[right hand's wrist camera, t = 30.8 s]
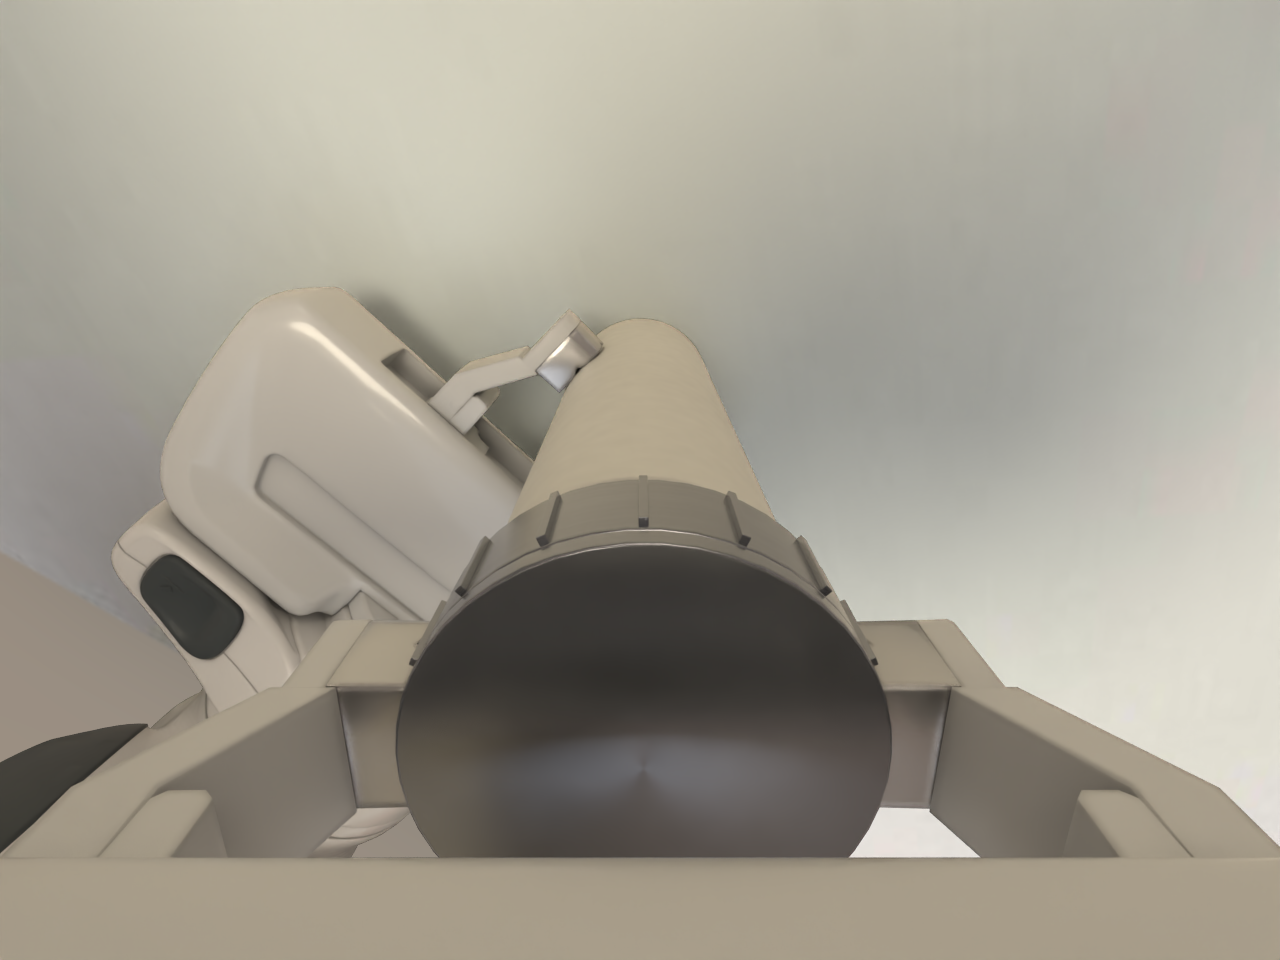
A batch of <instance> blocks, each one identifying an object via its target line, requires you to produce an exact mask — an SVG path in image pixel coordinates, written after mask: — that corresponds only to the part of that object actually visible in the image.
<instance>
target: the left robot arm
mask: <svg viewBox="0 0 1280 960" xmlns="http://www.w3.org/2000/svg"><path fill="white" fill-rule="evenodd" d="M602 345H603V342H602V341H601V340H600V339H599V338H598V337H597V336H596V335H595V334H594V333H593V332H592V331H591V330H590V329H589V328H588V327H587V326H586V325H585V324H584V323H583V322H582V321H581V319H580V318H579V317H578V316H576V315H575V314H574V313H573V312H572V311H571V310H570V309H568V310H567V311H566V312H565V313H564V314H563V315H562V316H561V317H560V318H559V319H558V321H557V322H556V323H555V324H554V325H553V326H552V327H551V328H550V329H549V330H548V331H547V332H546V333H545V334H544V335H543V336H542V337H541V338H540V340H539V341H538V342H537V343H536V344H535V345H534V346H533V347H532V348H530V347H529V346H525V347H522V348H518V349H514V350H510V351H507V352H503V353H499V354H496V355H492V356H488V357H484V358H481V359H477V360H473V361H470V362H469V363H467V364H466V365H465V366H464V367H463V368H461V369H460V370H459V371H458V372H457V373H455V374H454V375H453V376H452V377H451V378H450V380H449V381H448V382H446V381H445V380H444V379H443V378H442V377H440V376H439V375H438V374H437V373H436V372H435V371H434V370H433V369H432V368H431V367H429V366H428V365H427V364H426V363H425V362H424V361H423V360H422V359H421V358H419V357H418V356H417V355H416V354H415V353H414V352H413V351H412V350H411V349H410V348H408V347H407V346H406V345H405V344H404V343H403V342H402V341H401V340H400V339H398V338H397V337H396V336H395V335H394V334H393V333H392V332H391V331H390V330H389V329H387V328H386V327H385V326H384V325H383V324H382V323H381V322H380V321H379V320H377V319H376V318H375V317H374V316H373V315H372V314H371V313H370V312H369V311H368V310H366V309H365V308H364V307H363V306H362V305H361V304H360V303H359V302H358V301H357V300H356V299H354V298H353V297H352V296H351V295H350V294H348V293H347V292H346V291H344V290H342V289H340V288H337V287H310V288H300V289H292V290H287V291H283V292H280V293H276V294H274V295H271V296H269V297H266V298H264V299H263V300H261V301H260V302H258V303H257V304H255V305H254V306H253V307H252V308H251V309H250V310H249V311H248V312H247V313H246V314H245V315H244V316H243V318H242V319H241V320H240V321H239V322H238V324H237V325H236V326H235V327H234V329H233V330H232V331H231V333H230V334H229V335H228V337H227V338H226V339H225V341H224V342H223V344H222V345H221V347H220V348H219V349H218V351H217V352H216V354H215V355H214V357H213V358H212V359H211V361H210V363H209V364H208V366H207V367H206V369H205V370H204V372H203V373H202V375H201V377H200V378H199V380H198V382H197V383H196V385H195V387H194V388H193V390H192V392H191V393H190V395H189V396H188V398H187V400H186V402H185V404H184V406H183V407H182V409H181V411H180V413H179V415H178V417H177V419H176V420H175V422H174V424H173V426H172V428H171V430H170V432H169V434H168V437H167V439H166V442H165V445H164V448H163V452H162V456H161V462H160V480H161V486H162V490H163V494H164V496H165V499H164V500H163V501H161V502H160V503H159V504H157V505H156V506H155V507H153V508H152V509H151V510H150V511H148V512H147V513H146V514H145V515H144V516H143V517H142V518H140V519H139V520H138V521H137V522H136V523H135V524H134V525H132V526H131V527H130V528H129V529H128V530H127V531H126V532H125V533H124V534H123V535H122V536H121V537H120V538H119V540H118V541H117V542H116V544H115V546H114V547H113V550H112V553H111V561H112V565H113V568H114V570H115V572H116V574H117V575H118V577H119V578H120V580H121V581H122V582H123V584H124V585H125V586H126V587H127V589H128V590H129V591H130V592H131V593H132V595H133V596H134V597H135V598H136V599H137V600H138V602H139V603H140V604H141V605H142V606H143V607H144V609H145V610H146V611H147V612H148V613H149V615H150V616H151V617H152V618H153V620H154V621H155V622H156V623H157V624H158V626H159V627H160V628H161V629H162V631H163V632H164V633H165V634H166V636H167V637H168V638H169V640H170V641H171V642H172V643H173V645H174V646H175V647H176V649H177V650H178V651H179V653H180V654H181V656H182V657H183V658H184V660H185V661H186V662H187V664H188V665H189V667H190V668H191V670H192V671H193V673H194V674H195V676H196V677H197V679H198V680H199V682H200V684H201V685H202V687H203V688H202V690H201V692H200V693H198V694H196V695H194V696H192V697H190V698H188V699H186V700H184V701H183V702H181V703H180V704H178V705H177V706H175V707H174V708H173V709H172V710H170V711H169V712H168V713H167V714H166V715H165V716H163V717H162V718H161V719H160V720H159V721H158V722H157V723H156V724H155V725H154V726H153V727H152V728H151V729H150V728H149V727H148V724H127V725H118V726H113V727H107V728H102V729H97V730H93V731H88V732H83V733H78V734H74V735H69V736H65V737H60V738H56V739H52V740H49V741H46V742H43V743H41V744H38V745H36V746H34V747H31V748H29V749H27V750H25V751H22V752H20V753H18V754H16V755H14V756H12V757H10V758H8V759H6V760H4V761H2V762H0V857H1V856H2V855H3V854H4V853H5V852H6V851H7V850H8V849H9V848H10V847H11V846H12V845H13V844H14V843H15V842H16V841H17V840H18V839H19V838H20V837H21V836H22V835H23V834H24V833H25V832H26V831H27V830H28V829H29V828H30V827H31V826H32V825H33V824H34V823H35V822H36V821H37V820H38V819H39V818H40V817H41V816H42V815H43V814H44V813H45V812H46V811H47V810H48V809H49V808H50V807H51V806H52V805H53V804H54V803H55V802H56V801H57V800H58V799H59V798H60V797H61V796H62V795H63V794H64V793H65V792H66V791H67V790H68V789H69V788H70V787H72V786H74V785H76V784H78V783H80V782H82V781H84V780H86V779H88V778H90V777H92V776H94V775H96V774H98V773H100V772H102V771H104V770H106V769H108V768H110V767H112V766H114V765H116V764H118V763H120V762H122V761H124V760H126V759H128V758H130V757H132V756H134V755H136V754H138V753H140V752H142V751H144V750H146V749H148V748H150V747H152V746H154V745H156V744H158V743H160V742H162V741H164V740H166V739H168V738H170V737H172V736H174V735H176V734H178V733H180V732H182V731H184V730H186V729H188V728H190V727H192V726H194V725H196V724H198V723H200V722H202V721H204V720H206V719H208V718H210V717H212V716H214V715H216V714H218V713H220V712H222V711H224V710H226V709H228V708H230V707H232V706H234V705H236V704H238V703H239V702H241V701H243V700H245V699H247V698H249V697H251V696H253V695H255V694H257V693H259V692H261V691H263V690H265V689H267V688H269V687H282V686H283V685H284V683H285V682H286V681H287V679H288V678H289V677H290V676H291V674H292V673H293V672H294V670H295V669H296V668H297V667H298V665H299V664H300V663H301V661H302V660H303V659H304V658H305V656H306V655H307V654H308V652H309V651H310V650H311V649H312V647H313V646H314V645H315V643H316V642H317V641H318V640H319V638H320V637H321V636H322V634H323V633H324V632H325V631H326V629H327V628H328V627H329V625H330V624H331V623H332V622H333V621H337V620H358V619H371V620H373V621H374V620H409V621H431V619H432V617H433V615H434V613H435V611H436V609H437V608H438V606H439V604H440V602H441V600H443V601H446V602H447V600H448V598H449V596H450V594H451V592H452V590H453V589H454V587H455V585H456V583H457V581H458V579H459V578H460V576H461V574H462V572H463V570H464V569H465V567H466V566H467V565H468V564H469V562H470V560H471V558H472V556H473V554H474V552H475V550H476V548H477V546H478V544H479V542H480V540H481V539H482V538H483V537H484V536H486V537H488V538H489V539H490V538H491V537H492V536H493V535H494V534H495V533H496V532H497V531H499V530H500V529H501V528H503V527H504V526H505V525H507V523H508V521H509V518H510V516H511V514H512V512H513V509H514V507H515V505H516V502H517V500H518V498H519V496H520V493H521V491H522V489H523V486H524V484H525V482H526V479H527V477H528V475H529V473H530V470H531V468H532V466H533V463H534V461H533V460H532V459H531V458H530V457H529V456H528V455H527V454H526V453H524V452H523V451H522V450H521V449H520V448H519V447H518V446H517V445H516V444H515V443H513V442H512V441H511V440H510V439H509V438H508V437H507V436H506V435H505V434H503V433H502V432H501V431H500V430H499V429H498V428H497V427H496V426H495V425H494V424H492V423H491V422H490V421H489V420H488V419H487V418H486V417H485V416H484V415H483V414H484V413H485V412H486V411H487V410H488V409H489V407H490V406H491V405H492V404H493V402H494V401H495V400H496V399H497V397H498V396H499V395H500V389H499V388H497V387H498V386H501V385H505V384H508V383H512V382H515V381H519V380H522V379H526V378H529V377H533V376H536V375H538V374H539V375H540V376H541V377H543V378H544V379H545V380H546V381H547V382H548V383H549V384H550V385H551V386H553V387H554V388H555V389H556V390H557V391H558V392H559V393H560V392H561V391H562V390H563V389H564V388H565V387H566V386H567V385H568V384H569V383H570V382H571V381H572V380H573V378H574V377H575V375H576V373H577V370H578V368H580V367H585V366H586V365H587V364H588V363H589V362H590V361H591V360H592V359H593V358H594V357H595V356H596V355H597V354H598V353H599V351H600V350H601V349H602ZM409 813H410V811H409V809H408V807H397V808H362V809H357V813H356V814H354V815H353V816H352V817H351V818H350V819H349V820H348V821H347V822H346V823H344V824H343V825H342V826H341V827H340V828H339V829H338V830H337V831H335V832H334V833H333V834H332V835H331V836H330V837H329V838H328V839H327V840H325V841H324V842H323V843H322V844H321V845H320V846H319V847H318V848H316V849H315V850H314V851H313V852H312V853H311V854H310V855H309V856H308V857H306V858H351V856H352V855H353V853H354V851H355V849H356V848H357V846H358V845H359V844H362V843H364V842H366V841H369V840H371V839H373V838H376V837H378V836H380V835H381V834H383V833H385V832H386V831H387V830H389V829H390V828H392V827H394V826H395V825H396V824H398V823H399V822H400V821H401V820H402V819H403V818H404V817H406V816H407V815H408V814H409Z"/></svg>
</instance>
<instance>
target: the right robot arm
mask: <svg viewBox="0 0 1280 960" xmlns="http://www.w3.org/2000/svg"><path fill="white" fill-rule="evenodd" d="M429 623H430V621H409V620H374V621H373V620H371V619H358V620H337V621H333V622H332V623H331V624H330V625H329V627H328V628H327V629H326V631H325V632H324V633H323V634H322V636H321V637H320V638H319V640H318V641H317V642H316V643H315V645H314V646H313V647H312V649H311V650H310V651H309V652H308V654H307V655H306V656H305V658H304V659H303V660H302V661H301V663H300V664H299V665H298V667H297V668H296V669H295V670H294V672H293V673H292V674H291V676H290V677H289V678H288V679H287V681H286V682H285V683H284V685H283V686H282V687H269V688H267V689H265V690H263V691H261V692H259V693H257V694H255V695H253V696H251V697H249V698H247V699H245V700H243V701H241V702H239V703H238V704H236V705H234V706H232V707H230V708H228V709H226V710H224V711H222V712H220V713H218V714H216V715H214V716H212V717H210V718H208V719H206V720H204V721H202V722H200V723H198V724H196V725H194V726H192V727H190V728H188V729H186V730H184V731H182V732H180V733H178V734H176V735H174V736H172V737H170V738H168V739H166V740H164V741H162V742H160V743H158V744H156V745H154V746H152V747H150V748H148V749H146V750H144V751H142V752H140V753H138V754H136V755H134V756H132V757H130V758H128V759H126V760H124V761H122V762H120V763H118V764H116V765H114V766H112V767H110V768H108V769H106V770H104V771H102V772H100V773H98V774H96V775H94V776H92V777H90V778H88V779H86V780H84V781H82V782H80V783H78V784H76V785H74V786H72V787H70V788H69V789H68V790H67V791H66V792H65V793H64V794H63V795H62V796H61V797H60V798H59V799H58V800H57V801H56V802H55V803H54V804H53V805H52V806H51V807H50V808H49V809H48V810H47V811H46V812H45V813H44V814H43V815H42V816H41V817H40V818H39V819H38V820H37V821H36V822H35V823H34V824H33V825H32V826H31V827H30V828H29V829H28V830H27V831H26V832H25V833H24V834H23V835H22V836H21V837H20V838H19V839H18V840H17V841H16V842H15V843H14V844H13V845H12V846H11V847H10V848H9V849H8V850H7V851H6V852H5V853H4V854H3V855H2V856H1V857H0V960H1280V847H1279V846H1278V845H1277V844H1276V843H1275V842H1274V841H1273V840H1272V839H1271V838H1270V837H1269V836H1268V835H1267V834H1266V833H1265V832H1264V831H1263V830H1262V829H1261V828H1260V827H1259V826H1258V825H1257V824H1256V823H1255V822H1254V821H1253V820H1252V819H1251V818H1250V817H1249V816H1248V815H1247V814H1246V813H1245V812H1244V811H1243V810H1242V809H1241V808H1239V807H1238V806H1237V805H1236V804H1235V803H1234V802H1233V801H1232V800H1231V799H1230V798H1229V797H1228V796H1227V795H1226V794H1225V793H1224V792H1223V791H1222V790H1221V789H1220V788H1219V787H1217V786H1215V785H1213V784H1211V783H1209V782H1207V781H1205V780H1202V779H1200V778H1198V777H1196V776H1194V775H1192V774H1190V773H1188V772H1186V771H1184V770H1182V769H1180V768H1178V767H1176V766H1174V765H1172V764H1170V763H1168V762H1166V761H1164V760H1162V759H1160V758H1158V757H1156V756H1154V755H1152V754H1150V753H1148V752H1146V751H1144V750H1142V749H1140V748H1138V747H1136V746H1134V745H1132V744H1130V743H1128V742H1126V741H1124V740H1122V739H1120V738H1118V737H1116V736H1114V735H1112V734H1110V733H1108V732H1106V731H1104V730H1102V729H1100V728H1098V727H1096V726H1094V725H1092V724H1090V723H1088V722H1086V721H1084V720H1082V719H1080V718H1078V717H1076V716H1074V715H1072V714H1070V713H1068V712H1066V711H1064V710H1062V709H1060V708H1058V707H1056V706H1054V705H1052V704H1050V703H1048V702H1046V701H1044V700H1042V699H1040V698H1038V697H1036V696H1034V695H1032V694H1030V693H1028V692H1026V691H1024V690H1022V689H1020V688H1018V687H1005V686H1004V684H1003V683H1002V682H1001V681H1000V679H999V678H998V677H997V676H996V674H995V673H994V672H993V671H992V669H991V668H990V667H989V666H988V664H987V663H986V662H985V661H984V659H983V658H982V657H981V656H980V654H979V653H978V652H977V651H976V649H975V648H974V647H973V646H972V644H971V643H970V642H969V641H968V639H967V638H966V637H965V635H964V634H963V633H962V632H961V630H960V629H959V628H958V627H957V625H956V624H955V623H954V622H952V621H950V620H948V619H934V620H903V621H862V622H857V623H858V625H859V627H860V629H861V630H862V632H863V634H864V636H865V638H866V640H867V641H868V643H869V645H870V647H871V649H872V651H873V653H874V654H875V656H876V658H877V661H878V665H876V666H874V667H875V669H876V671H877V673H878V676H879V679H880V682H881V684H882V687H883V690H884V693H885V696H886V698H887V703H888V708H889V714H890V720H891V725H892V757H891V764H890V771H889V778H888V783H887V786H886V789H885V792H884V795H883V799H882V802H881V805H880V807H888V808H924V809H930V813H932V814H933V815H934V816H935V817H936V818H937V819H938V820H939V821H941V822H942V823H943V824H944V825H945V826H946V827H947V828H948V829H950V830H951V831H952V832H953V833H954V834H955V835H956V836H957V837H959V838H960V839H961V840H962V841H963V842H964V843H965V844H966V845H968V846H969V847H970V848H971V849H972V850H973V851H974V852H975V853H977V854H978V855H979V856H980V857H981V858H306V857H308V856H309V855H310V854H311V853H312V852H313V851H314V850H315V849H316V848H318V847H319V846H320V845H321V844H322V843H323V842H324V841H325V840H327V839H328V838H329V837H330V836H331V835H332V834H333V833H334V832H335V831H337V830H338V829H339V828H340V827H341V826H342V825H343V824H344V823H346V822H347V821H348V820H349V819H350V818H351V817H352V816H353V815H354V814H356V813H357V809H362V808H397V807H407V804H406V801H405V797H404V794H403V791H402V788H401V785H400V781H399V775H398V768H397V761H396V754H395V742H396V722H397V717H398V711H399V706H400V700H401V697H402V694H403V692H404V689H405V686H406V683H407V680H408V678H409V675H410V672H411V670H412V669H413V666H410V665H409V662H410V659H411V657H412V655H413V653H414V651H415V649H416V647H417V646H418V644H419V642H420V640H421V638H422V636H423V634H424V632H425V630H426V628H427V627H428V625H429Z"/></svg>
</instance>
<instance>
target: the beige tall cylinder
mask: <svg viewBox="0 0 1280 960" xmlns="http://www.w3.org/2000/svg"><path fill="white" fill-rule="evenodd" d="M596 336H597V337H598V338H599V339H600V340H601V341H602V342H603V345H602V349H601V350H600V351H599V353H598V354H597V355H596V356H595V357H594V358H593V359H592V360H591V361H590V362H589V363H588V364H587V365H586V366H585V367H580V368H578V370H577V373H576V375H575V377H574V378H573V380H572V381H571V382H570V383H569V384H568V385H567V388H566V390H565V392H564V395H563V397H562V399H561V401H560V404H559V406H558V408H557V411H556V413H555V415H554V417H553V420H552V422H551V424H550V427H549V429H548V431H547V434H546V436H545V438H544V440H543V443H542V445H541V447H540V450H539V452H538V454H537V457H536V459H535V461H534V463H533V466H532V468H531V470H530V473H529V475H528V477H527V479H526V482H525V484H524V486H523V489H522V491H521V493H520V496H519V498H518V500H517V502H516V505H515V507H514V509H513V512H512V514H511V516H510V518H509V521H508V523H509V522H511V521H512V520H513V519H515V518H516V517H517V516H519V515H520V514H522V513H524V512H526V511H527V510H529V509H531V508H533V507H535V506H536V505H538V504H540V503H542V502H544V501H546V500H548V499H549V497H550V494H551V493H553V492H555V491H558V492H559V494H560V495H561V494H564V493H566V492H569V491H571V490H575V489H579V488H583V487H587V486H591V485H595V484H599V483H607V482H615V481H623V480H639V475H647V476H648V480H664V481H672V482H680V483H688V484H692V485H696V486H700V487H704V488H707V489H711V490H715V491H718V492H721V493H723V494H727V492H728V491H731V492H734V493H736V495H737V498H738V500H741V501H743V502H745V503H747V504H748V505H750V506H752V507H754V508H756V509H758V510H759V511H761V512H763V513H765V514H767V515H768V516H769V517H771V518H772V519H773V520H775V518H774V516H773V514H772V512H771V509H770V507H769V505H768V503H767V501H766V498H765V496H764V494H763V492H762V490H761V487H760V485H759V483H758V481H757V479H756V477H755V474H754V472H753V470H752V468H751V466H750V463H749V461H748V459H747V457H746V455H745V452H744V450H743V448H742V446H741V444H740V441H739V439H738V437H737V435H736V433H735V430H734V428H733V426H732V424H731V422H730V419H729V417H728V415H727V413H726V411H725V408H724V406H723V404H722V402H721V400H720V397H719V395H718V393H717V391H716V389H715V386H714V384H713V382H712V380H711V378H710V375H709V373H708V371H707V369H706V367H705V364H704V362H703V360H702V358H701V356H700V354H699V352H698V350H697V349H696V347H695V346H694V345H693V343H692V342H691V341H690V340H689V339H688V338H687V337H686V336H685V335H684V334H683V333H681V332H680V331H679V330H677V329H676V328H674V327H672V326H670V325H668V324H666V323H663V322H660V321H656V320H652V319H630V320H625V321H621V322H618V323H615V324H613V325H611V326H609V327H607V328H605V329H604V330H602V331H601V332H600V333H598V334H597V335H596ZM775 521H776V520H775ZM508 523H507V524H508Z"/></svg>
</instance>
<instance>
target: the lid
mask: <svg viewBox="0 0 1280 960" xmlns="http://www.w3.org/2000/svg"><path fill="white" fill-rule="evenodd" d="M409 665H410V666H413V669H412V670H411V672H410V675H409V678H408V680H407V683H406V686H405V689H404V692H403V694H402V697H401V700H400V706H399V711H398V717H397V722H396V742H395V754H396V761H397V768H398V775H399V781H400V785H401V788H402V791H403V794H404V797H405V801H406V804H407V807H408V809H409V811H410V813H411V815H412V817H413V819H414V821H415V823H416V825H417V827H418V829H419V831H420V832H421V834H422V835H423V837H424V838H425V840H426V841H427V843H428V844H429V846H430V847H431V849H432V850H433V852H434V853H435V854H436V855H437V856H438V857H439V858H848V857H849V856H850V855H851V854H852V853H853V852H854V850H855V849H856V848H857V846H858V845H859V843H860V842H861V840H862V839H863V837H864V836H865V834H866V833H867V831H868V830H869V828H870V826H871V824H872V822H873V820H874V818H875V816H876V813H877V811H878V809H879V807H880V805H881V802H882V799H883V795H884V792H885V789H886V786H887V783H888V778H889V771H890V764H891V757H892V725H891V720H890V714H889V708H888V703H887V698H886V696H885V693H884V690H883V687H882V684H881V682H880V679H879V676H878V673H877V671H876V669H875V667H874V666H876V665H878V661H877V658H876V656H875V654H874V653H873V651H872V649H871V647H870V645H869V643H868V641H867V640H866V638H865V636H864V634H863V632H862V630H861V629H860V627H859V625H858V623H857V621H856V619H855V617H854V616H853V614H852V612H851V610H850V608H849V606H848V605H847V603H846V601H845V600H842V601H839V599H838V597H837V595H836V593H835V591H834V589H833V588H832V586H831V584H830V582H829V580H828V579H827V577H826V575H825V573H824V571H823V569H822V568H821V567H820V565H819V564H818V562H817V560H816V558H815V556H814V554H813V552H812V550H811V548H810V546H809V545H808V543H807V541H806V539H805V538H804V537H803V536H800V537H798V538H797V539H796V538H795V537H794V536H793V535H792V534H791V533H790V532H789V531H788V530H787V529H785V528H784V527H783V526H781V525H780V524H779V523H777V522H776V521H775V520H773V519H772V518H771V517H769V516H768V515H767V514H765V513H763V512H761V511H759V510H758V509H756V508H754V507H752V506H750V505H748V504H747V503H745V502H743V501H741V500H738V498H737V495H736V493H734V492H731V491H728V492H727V494H723V493H721V492H718V491H715V490H711V489H707V488H704V487H700V486H696V485H692V484H688V483H680V482H672V481H664V480H648V476H647V475H639V480H623V481H615V482H607V483H599V484H595V485H591V486H587V487H583V488H579V489H575V490H571V491H569V492H566V493H564V494H561V495H560V494H559V492H558V491H555V492H553V493H551V494H550V497H549V499H548V500H546V501H544V502H542V503H540V504H538V505H536V506H535V507H533V508H531V509H529V510H527V511H526V512H524V513H522V514H520V515H519V516H517V517H516V518H515V519H513V520H512V521H511V522H509V523H508V524H507V525H505V526H504V527H503V528H501V529H500V530H499V531H497V532H496V533H495V534H494V535H493V536H492V537H491V538H490V539H489V538H488V537H486V536H484V537H483V538H482V539H481V540H480V542H479V544H478V546H477V548H476V550H475V552H474V554H473V556H472V558H471V560H470V562H469V564H468V565H467V566H466V567H465V569H464V570H463V572H462V574H461V576H460V578H459V579H458V581H457V583H456V585H455V587H454V589H453V590H452V592H451V594H450V596H449V598H448V600H447V602H446V601H443V600H441V602H440V604H439V606H438V608H437V609H436V611H435V613H434V615H433V617H432V619H431V621H430V623H429V625H428V627H427V628H426V630H425V632H424V634H423V636H422V638H421V640H420V642H419V644H418V646H417V647H416V649H415V651H414V653H413V655H412V657H411V659H410V662H409Z"/></svg>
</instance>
